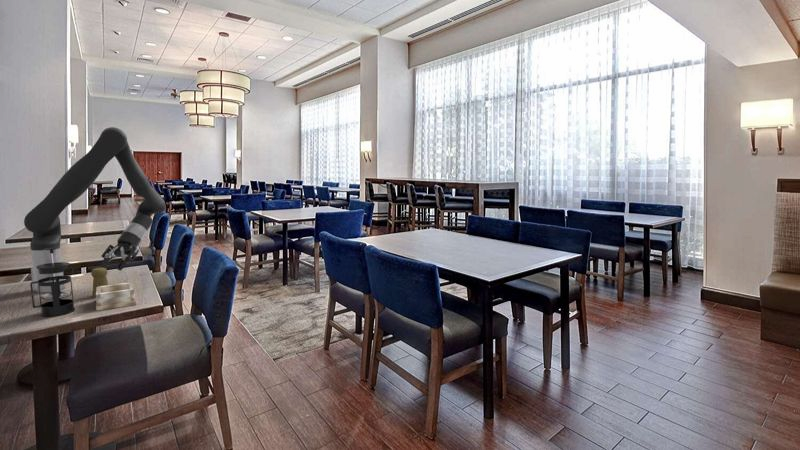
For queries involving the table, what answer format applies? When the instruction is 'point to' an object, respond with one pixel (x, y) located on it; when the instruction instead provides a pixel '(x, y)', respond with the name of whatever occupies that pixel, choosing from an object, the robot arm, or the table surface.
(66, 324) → the table surface
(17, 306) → the table surface
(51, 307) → the french press
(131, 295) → the cruet holder
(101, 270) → the cork
